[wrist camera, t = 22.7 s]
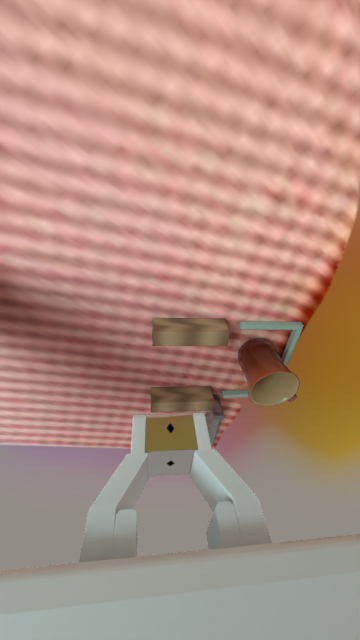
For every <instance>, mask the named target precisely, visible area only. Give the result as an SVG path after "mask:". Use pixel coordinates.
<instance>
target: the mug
mask: <svg viewBox="0 0 360 640" xmlns="http://www.w3.org/2000/svg"><path fill="white" fill-rule="evenodd" d="M238 359H239V364H240V367H241V368H242V371H243V373H244V375H245V377H246V380H247V382H248V395H249V399H250V400H251V401H252V402H253V403H255V404H257V405H259V406H273V405H278V404H281V403H283V402H285V401H289V402H291V401H294V400H295V399H296V398H297V396H296V392H297V390H298V388H299V384H300V383H299V379H298V377H297V376H296V375H295V374H294V373H293V372H291V371H290V370H289V369H288V368H287V367H286V366H285V365H284V363H283V361H282V359H281V357H280V356H279V354H278V352H277V350H276V349H275V347H274V346H273V345H272V344H271V343H270V342H269V341H267V340H265V339H253V340H250V341H248V342H246V343H245V344H244V345H242V347H241V348H240V350H239V352H238Z"/></svg>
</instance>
